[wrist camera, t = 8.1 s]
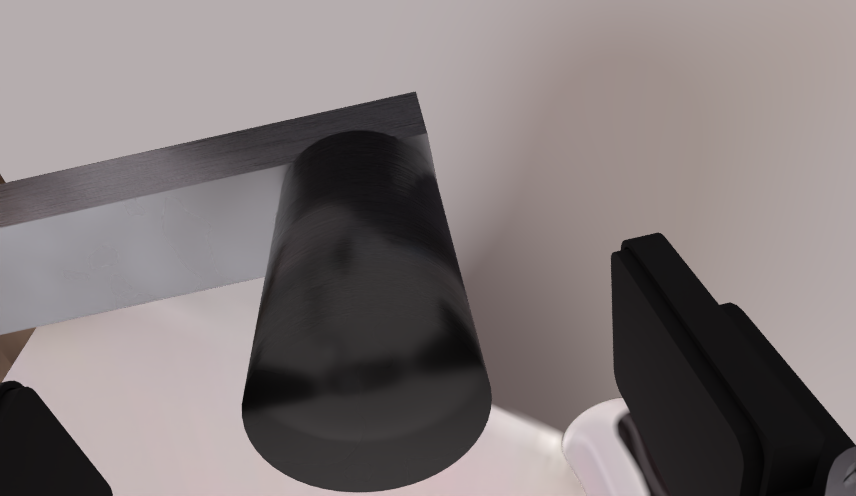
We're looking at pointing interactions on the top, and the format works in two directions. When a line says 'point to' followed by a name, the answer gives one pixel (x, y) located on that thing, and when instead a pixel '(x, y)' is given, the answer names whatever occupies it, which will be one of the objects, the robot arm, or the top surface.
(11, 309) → the grey piece
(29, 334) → the brown wooden block
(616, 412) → the beer glass
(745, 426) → the robot arm
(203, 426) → the top surface
